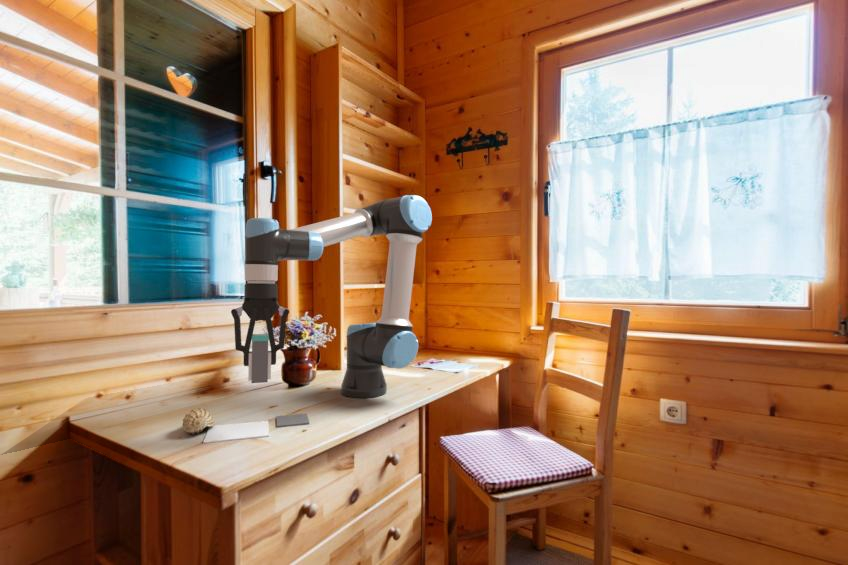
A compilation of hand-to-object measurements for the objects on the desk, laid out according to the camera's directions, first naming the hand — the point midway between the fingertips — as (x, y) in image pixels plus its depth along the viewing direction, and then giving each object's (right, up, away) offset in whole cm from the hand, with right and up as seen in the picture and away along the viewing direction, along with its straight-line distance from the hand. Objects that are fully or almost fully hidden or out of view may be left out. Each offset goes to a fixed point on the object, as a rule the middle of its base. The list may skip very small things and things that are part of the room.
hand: (259, 378), depth 105 cm
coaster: (+5, -13, +10) cm, 17 cm away
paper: (-6, -13, +1) cm, 14 cm away
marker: (0, -1, 0) cm, 1 cm away
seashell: (-16, -13, +2) cm, 21 cm away
